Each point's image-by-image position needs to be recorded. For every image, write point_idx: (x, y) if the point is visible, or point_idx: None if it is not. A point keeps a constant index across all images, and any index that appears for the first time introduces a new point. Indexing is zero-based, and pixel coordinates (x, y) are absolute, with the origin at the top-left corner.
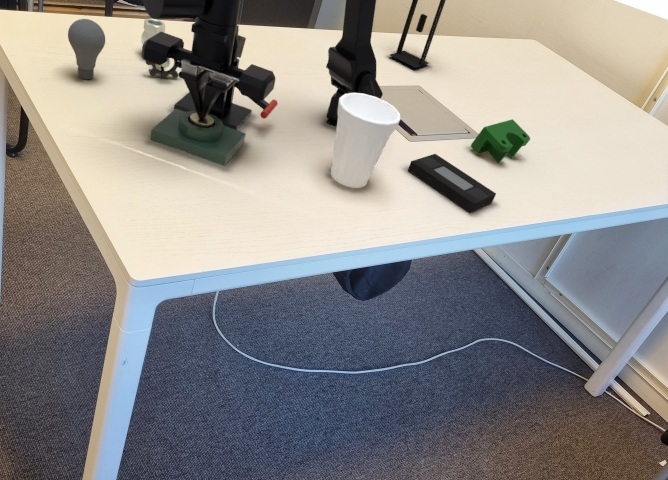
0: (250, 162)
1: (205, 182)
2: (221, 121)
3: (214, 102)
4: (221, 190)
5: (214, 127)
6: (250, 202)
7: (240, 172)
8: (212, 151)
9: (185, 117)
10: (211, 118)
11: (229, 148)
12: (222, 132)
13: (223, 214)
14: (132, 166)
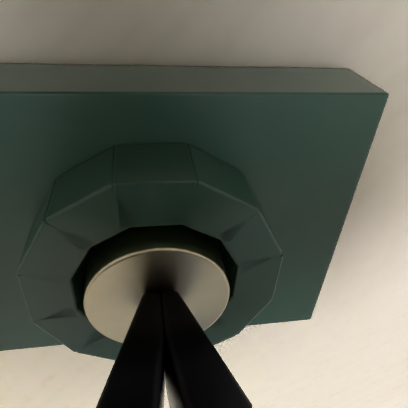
0: (381, 188)
1: (255, 352)
2: (261, 222)
3: (236, 384)
4: (302, 353)
5: (242, 296)
6: (377, 348)
7: (346, 263)
8: (256, 324)
9: (65, 316)
10: (207, 274)
11: (315, 276)
12: (257, 176)
13: (319, 400)
14: (59, 402)
